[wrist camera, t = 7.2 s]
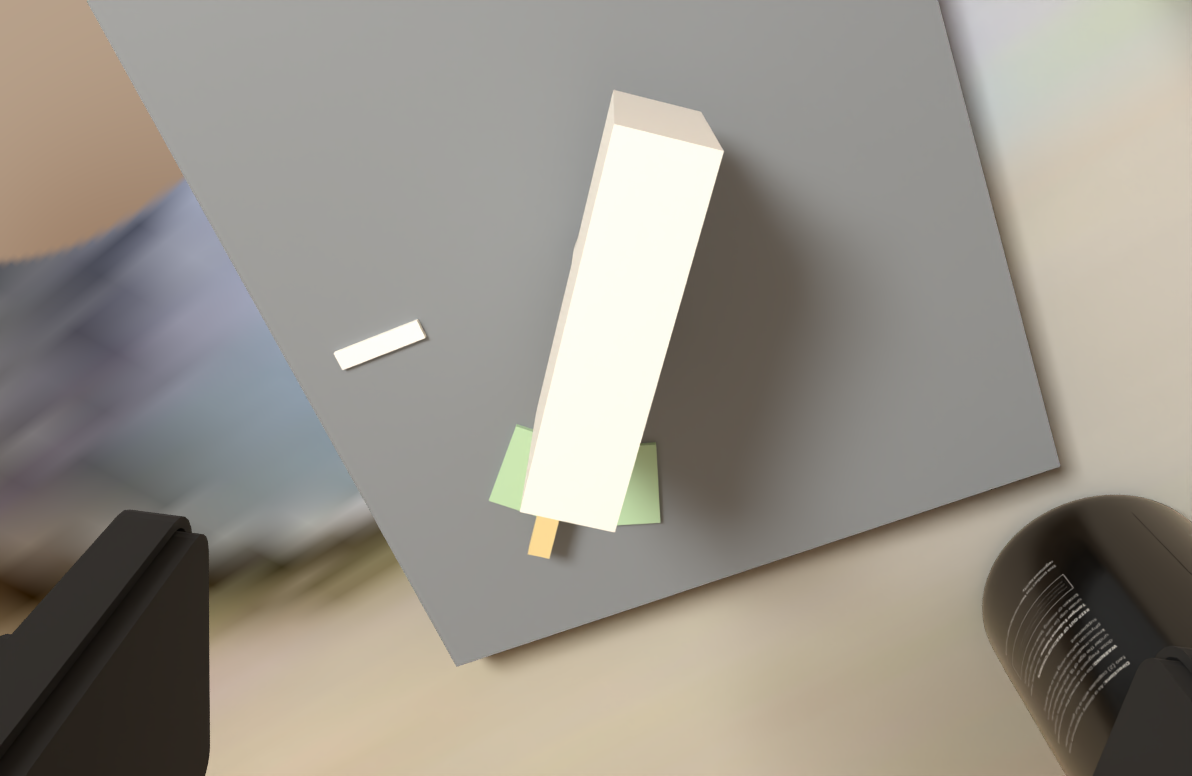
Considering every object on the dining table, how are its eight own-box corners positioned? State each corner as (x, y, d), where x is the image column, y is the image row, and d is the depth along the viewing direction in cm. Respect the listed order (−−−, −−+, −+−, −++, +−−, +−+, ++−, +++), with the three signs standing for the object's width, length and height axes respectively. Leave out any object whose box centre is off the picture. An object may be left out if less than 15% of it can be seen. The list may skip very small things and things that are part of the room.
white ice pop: (613, 83, 24) (613, 123, 18) (696, 104, 24) (723, 151, 18) (504, 539, 29) (477, 685, 23) (575, 554, 29) (565, 703, 23)
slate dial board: (829, -337, 22) (846, -358, 21) (1039, 442, 29) (1062, 469, 28) (115, -2, 25) (83, 1, 24) (463, 636, 32) (455, 670, 31)
